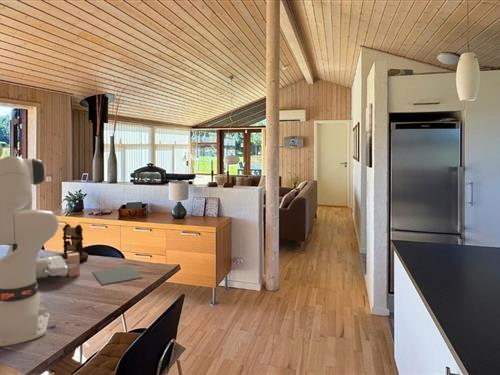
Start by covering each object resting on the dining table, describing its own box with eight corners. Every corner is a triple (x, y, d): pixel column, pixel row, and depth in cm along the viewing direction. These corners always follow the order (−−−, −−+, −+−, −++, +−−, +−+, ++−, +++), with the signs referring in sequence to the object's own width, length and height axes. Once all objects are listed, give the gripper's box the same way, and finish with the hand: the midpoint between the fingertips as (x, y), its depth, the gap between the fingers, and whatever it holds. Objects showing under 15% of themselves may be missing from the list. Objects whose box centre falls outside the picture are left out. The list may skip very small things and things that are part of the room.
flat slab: (142, 278, 168) (142, 277, 168) (101, 285, 158) (101, 284, 158) (129, 266, 185) (129, 265, 185) (92, 272, 174) (92, 271, 174)
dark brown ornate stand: (93, 257, 200) (93, 222, 198) (77, 265, 185) (76, 227, 183) (69, 255, 202) (68, 221, 200) (51, 263, 187) (50, 226, 185)
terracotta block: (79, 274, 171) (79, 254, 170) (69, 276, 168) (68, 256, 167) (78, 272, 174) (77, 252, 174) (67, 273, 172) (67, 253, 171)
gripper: (44, 267, 155) (79, 262, 163) (40, 255, 171) (71, 251, 179) (45, 281, 155) (79, 275, 163) (40, 268, 172) (72, 263, 180)
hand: (75, 262), depth 171 cm, fingers closed on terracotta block, 4 cm apart
